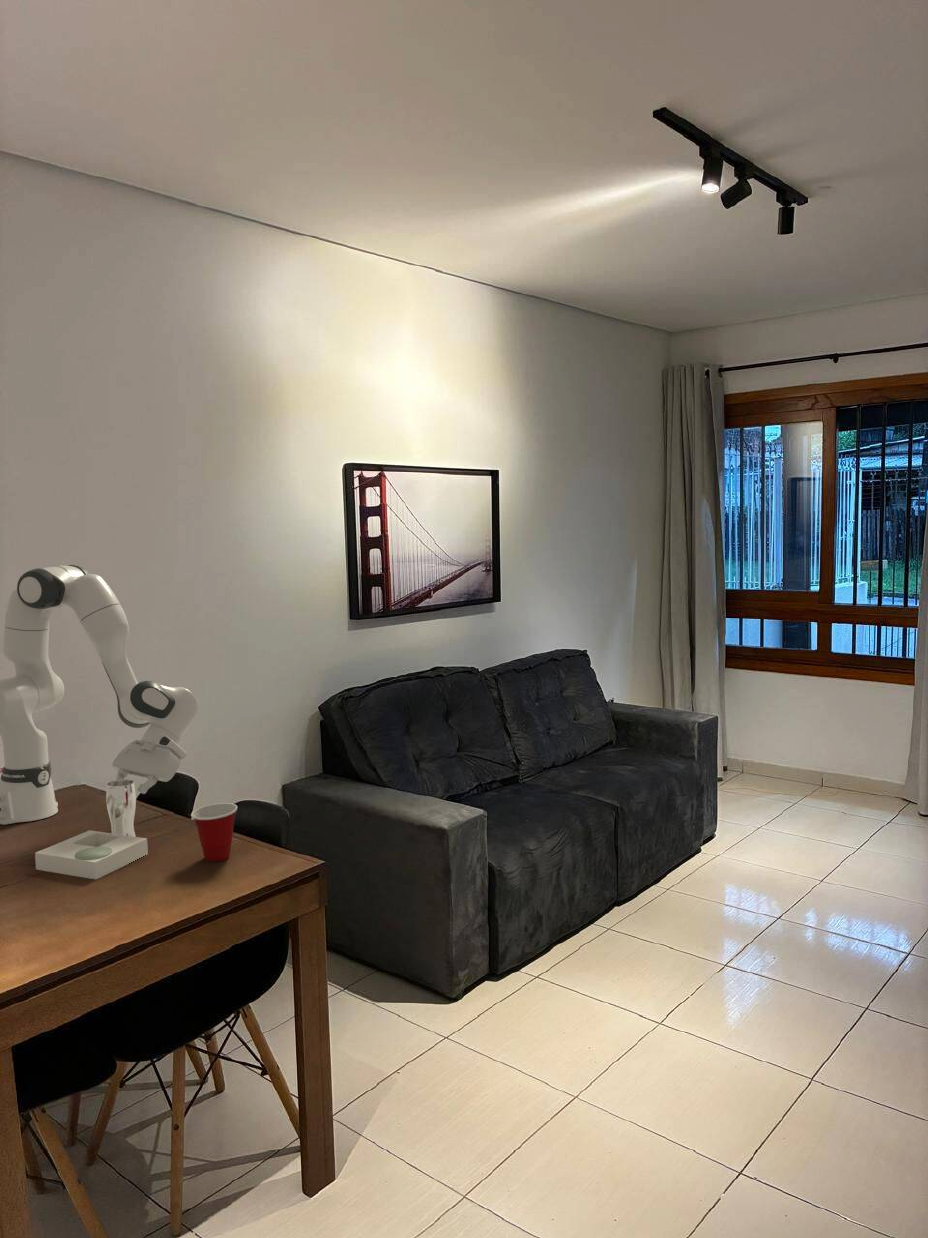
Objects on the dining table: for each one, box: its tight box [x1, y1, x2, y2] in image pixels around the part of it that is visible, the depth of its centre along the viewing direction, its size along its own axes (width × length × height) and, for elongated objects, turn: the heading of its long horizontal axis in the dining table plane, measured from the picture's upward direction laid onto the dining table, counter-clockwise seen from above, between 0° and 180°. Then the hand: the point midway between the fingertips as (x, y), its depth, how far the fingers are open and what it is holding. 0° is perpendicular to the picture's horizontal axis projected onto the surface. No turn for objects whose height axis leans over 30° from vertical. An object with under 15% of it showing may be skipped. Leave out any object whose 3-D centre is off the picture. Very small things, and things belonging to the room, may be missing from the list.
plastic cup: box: [190, 802, 238, 863], centre depth 222 cm, size 11×11×12 cm
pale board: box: [34, 829, 149, 880], centre depth 221 cm, size 18×17×4 cm
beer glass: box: [105, 778, 137, 837], centre depth 235 cm, size 7×7×15 cm
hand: (128, 789), depth 236 cm, fingers open, 8 cm apart
